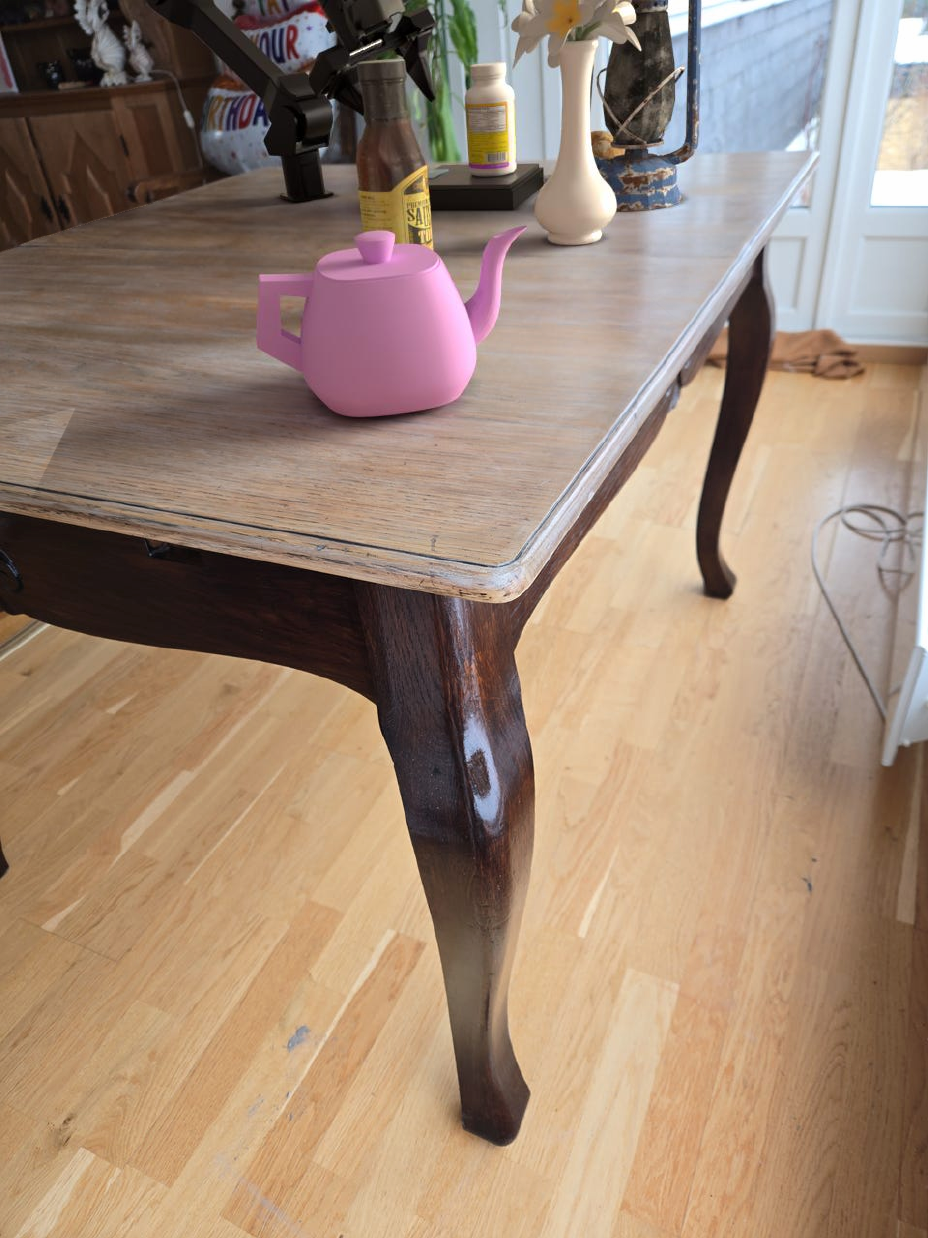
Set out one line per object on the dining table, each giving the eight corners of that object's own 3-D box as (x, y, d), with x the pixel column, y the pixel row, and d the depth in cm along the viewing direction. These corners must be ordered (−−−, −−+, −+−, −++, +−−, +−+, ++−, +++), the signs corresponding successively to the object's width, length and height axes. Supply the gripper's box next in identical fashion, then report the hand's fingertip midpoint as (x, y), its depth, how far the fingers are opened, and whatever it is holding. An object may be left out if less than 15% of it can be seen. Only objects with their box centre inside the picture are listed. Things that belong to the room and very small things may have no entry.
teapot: (551, 404, 61) (550, 238, 55) (268, 441, 59) (232, 273, 53) (510, 344, 72) (505, 198, 65) (269, 374, 70) (239, 227, 63)
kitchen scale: (401, 209, 118) (399, 184, 116) (441, 186, 130) (439, 163, 128) (513, 209, 114) (512, 183, 112) (543, 185, 126) (543, 161, 124)
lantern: (685, 187, 118) (708, -97, 100) (701, 206, 108) (729, -105, 90) (572, 194, 119) (574, -85, 101) (578, 214, 109) (581, -92, 91)
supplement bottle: (487, 167, 123) (482, 61, 116) (525, 169, 120) (523, 60, 112) (459, 176, 119) (452, 66, 112) (498, 178, 116) (493, 65, 108)
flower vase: (605, 216, 107) (613, -36, 92) (647, 251, 92) (664, -41, 78) (502, 225, 107) (493, -26, 92) (528, 263, 92) (522, -30, 77)
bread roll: (620, 210, 125) (647, 152, 121) (556, 181, 123) (581, 121, 118) (611, 196, 133) (636, 142, 129) (551, 169, 131) (574, 112, 126)
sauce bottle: (429, 318, 79) (406, 61, 67) (364, 318, 80) (330, 65, 68) (444, 296, 84) (426, 54, 72) (383, 297, 85) (355, 59, 74)
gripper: (302, -23, 100) (377, 104, 104) (419, -70, 107) (486, 51, 111) (278, 37, 110) (347, 151, 114) (386, -9, 117) (449, 100, 121)
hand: (408, 112), depth 115 cm, fingers open, 9 cm apart
